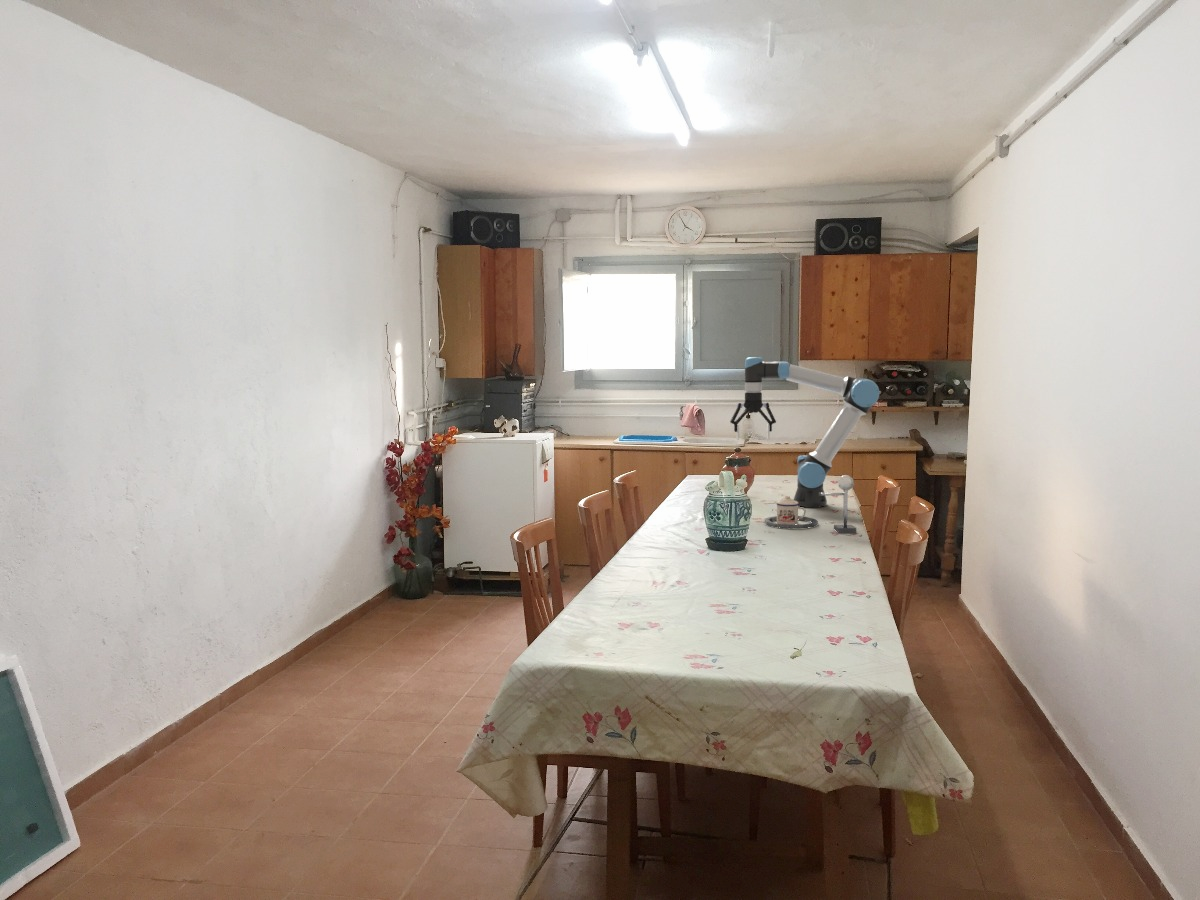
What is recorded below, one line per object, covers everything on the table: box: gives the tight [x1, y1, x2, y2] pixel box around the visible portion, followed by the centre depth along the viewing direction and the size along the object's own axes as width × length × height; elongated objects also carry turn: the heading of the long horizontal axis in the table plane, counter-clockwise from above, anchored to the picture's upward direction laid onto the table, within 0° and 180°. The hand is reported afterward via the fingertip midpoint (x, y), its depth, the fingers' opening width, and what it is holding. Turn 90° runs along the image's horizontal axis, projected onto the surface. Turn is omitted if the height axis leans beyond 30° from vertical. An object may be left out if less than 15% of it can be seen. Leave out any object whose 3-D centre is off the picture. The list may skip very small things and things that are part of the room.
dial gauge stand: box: [819, 474, 857, 534], centre depth 357 cm, size 14×7×22 cm, turn 90°
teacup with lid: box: [776, 495, 807, 525], centre depth 373 cm, size 12×9×12 cm
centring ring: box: [764, 515, 819, 529], centre depth 374 cm, size 21×21×2 cm
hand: (752, 439), depth 406 cm, fingers open, 13 cm apart
